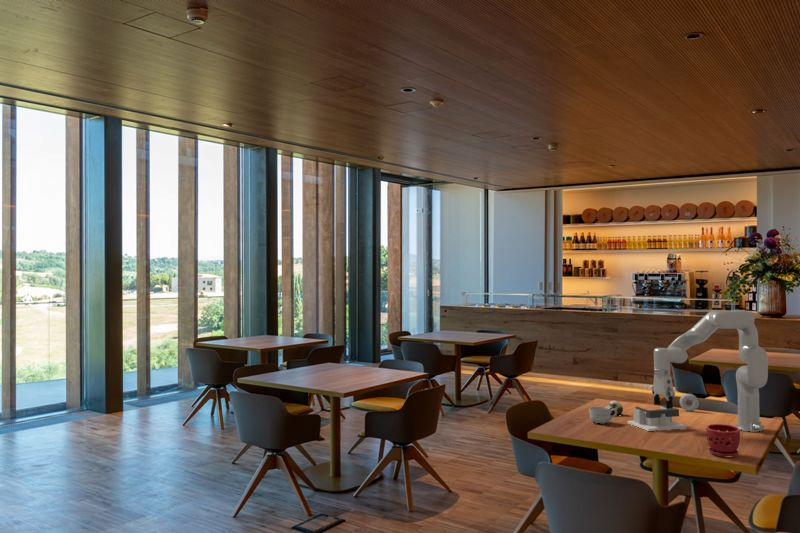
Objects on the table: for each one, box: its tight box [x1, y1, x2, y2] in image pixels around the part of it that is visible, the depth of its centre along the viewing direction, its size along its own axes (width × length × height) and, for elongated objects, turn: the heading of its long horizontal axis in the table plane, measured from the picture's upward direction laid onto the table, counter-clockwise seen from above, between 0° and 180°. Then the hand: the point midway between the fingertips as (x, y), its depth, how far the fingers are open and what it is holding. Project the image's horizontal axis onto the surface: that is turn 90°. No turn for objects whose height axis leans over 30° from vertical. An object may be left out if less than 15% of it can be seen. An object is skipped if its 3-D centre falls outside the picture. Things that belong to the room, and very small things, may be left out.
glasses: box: [634, 404, 680, 418], centre depth 334 cm, size 12×17×4 cm
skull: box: [605, 400, 624, 418], centre depth 363 cm, size 12×10×10 cm
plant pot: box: [705, 423, 741, 457], centre depth 282 cm, size 13×13×12 cm
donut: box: [679, 393, 700, 412], centre depth 369 cm, size 10×4×10 cm, turn 60°
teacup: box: [588, 406, 617, 425], centre depth 343 cm, size 14×11×8 cm
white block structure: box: [626, 406, 688, 432], centre depth 334 cm, size 18×22×8 cm
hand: (663, 406), depth 330 cm, fingers open, 9 cm apart
